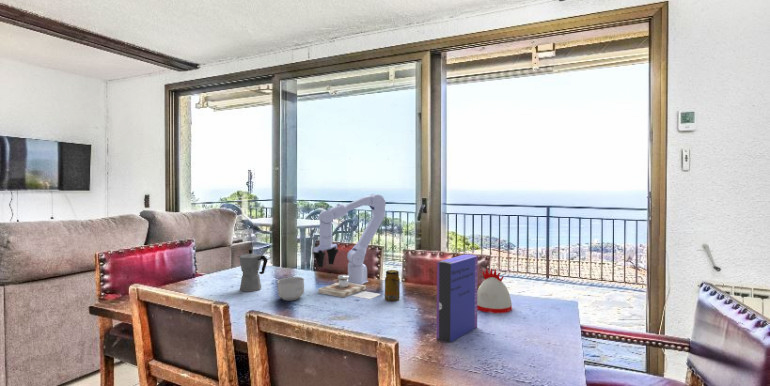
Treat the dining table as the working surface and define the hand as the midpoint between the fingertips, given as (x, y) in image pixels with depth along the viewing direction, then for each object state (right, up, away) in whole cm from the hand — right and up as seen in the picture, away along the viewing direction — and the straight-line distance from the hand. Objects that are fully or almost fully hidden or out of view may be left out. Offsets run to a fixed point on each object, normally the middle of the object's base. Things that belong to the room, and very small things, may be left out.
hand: (325, 265), depth 192 cm
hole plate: (+9, -10, -10) cm, 17 cm away
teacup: (-11, -10, -20) cm, 25 cm away
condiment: (+31, -10, -24) cm, 40 cm away
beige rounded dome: (+69, -11, -33) cm, 77 cm away
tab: (+20, -10, -17) cm, 28 cm away
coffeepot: (-32, -10, -7) cm, 34 cm away
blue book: (+51, -11, -60) cm, 79 cm away
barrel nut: (+9, -10, -10) cm, 17 cm away
